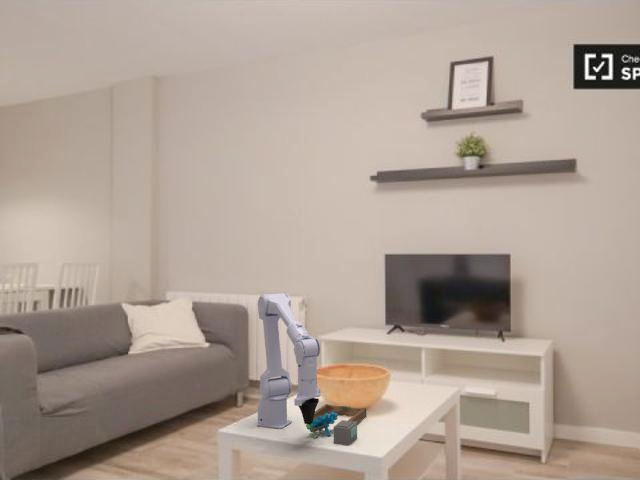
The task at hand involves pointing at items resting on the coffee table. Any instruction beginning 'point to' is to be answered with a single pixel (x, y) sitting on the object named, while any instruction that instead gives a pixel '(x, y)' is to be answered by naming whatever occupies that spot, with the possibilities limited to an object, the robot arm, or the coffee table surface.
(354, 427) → the block
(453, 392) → the coffee table surface
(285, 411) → the robot arm
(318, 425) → the blue green toy construction
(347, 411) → the frame
